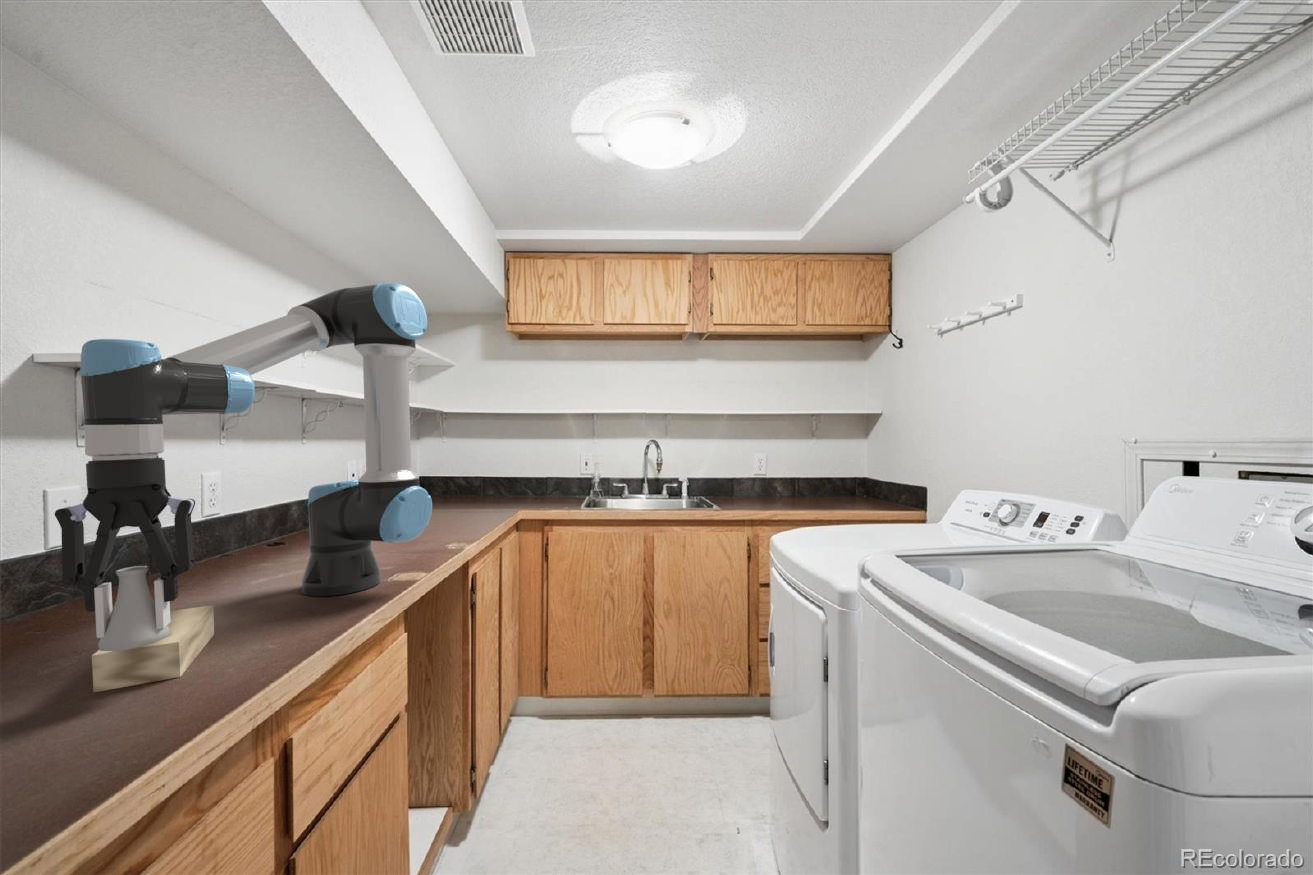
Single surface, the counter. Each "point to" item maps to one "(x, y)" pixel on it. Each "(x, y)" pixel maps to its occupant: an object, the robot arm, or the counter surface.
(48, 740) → the counter surface
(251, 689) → the counter surface
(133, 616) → the flask
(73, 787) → the counter surface
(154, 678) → the block
